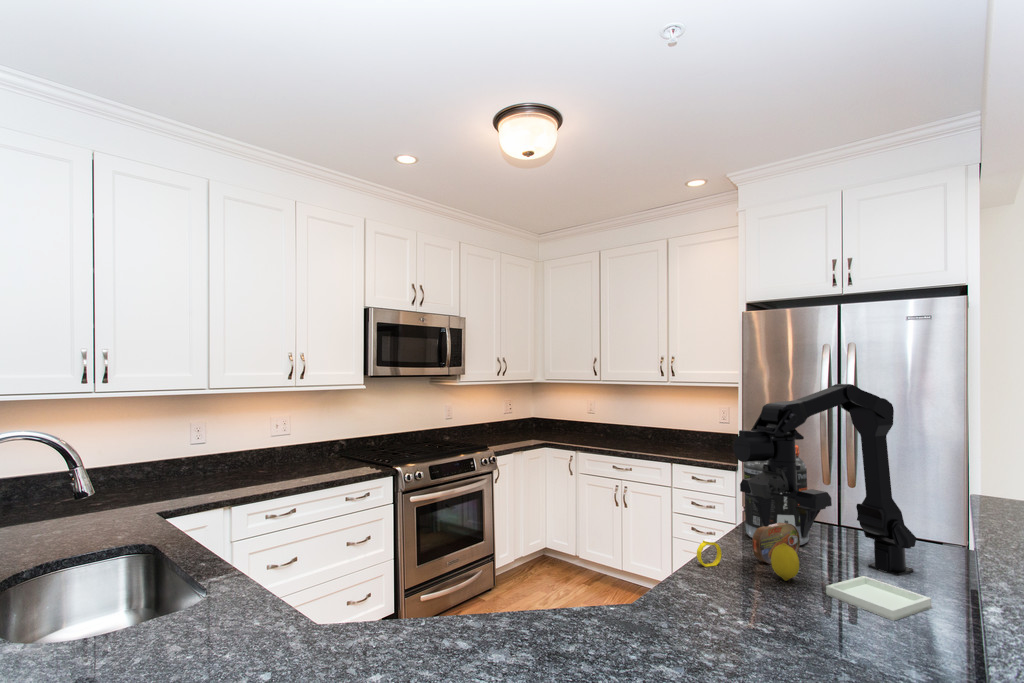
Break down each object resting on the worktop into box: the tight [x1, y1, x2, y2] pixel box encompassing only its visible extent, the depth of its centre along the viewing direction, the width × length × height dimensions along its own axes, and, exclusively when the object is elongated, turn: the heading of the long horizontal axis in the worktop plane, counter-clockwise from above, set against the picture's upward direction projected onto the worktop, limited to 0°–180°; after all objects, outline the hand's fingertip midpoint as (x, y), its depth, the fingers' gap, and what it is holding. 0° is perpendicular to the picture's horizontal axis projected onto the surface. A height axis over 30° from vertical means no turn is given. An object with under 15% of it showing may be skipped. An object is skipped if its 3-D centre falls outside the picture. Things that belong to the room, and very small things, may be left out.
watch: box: [696, 538, 723, 568], centre depth 123 cm, size 6×3×6 cm, turn 105°
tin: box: [751, 523, 801, 565], centre depth 127 cm, size 15×3×8 cm, turn 117°
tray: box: [825, 575, 933, 622], centre depth 103 cm, size 13×13×2 cm
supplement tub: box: [743, 444, 810, 546], centre depth 144 cm, size 16×16×26 cm
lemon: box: [770, 543, 800, 582], centre depth 114 cm, size 6×6×8 cm
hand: (784, 531), depth 114 cm, fingers open, 9 cm apart
